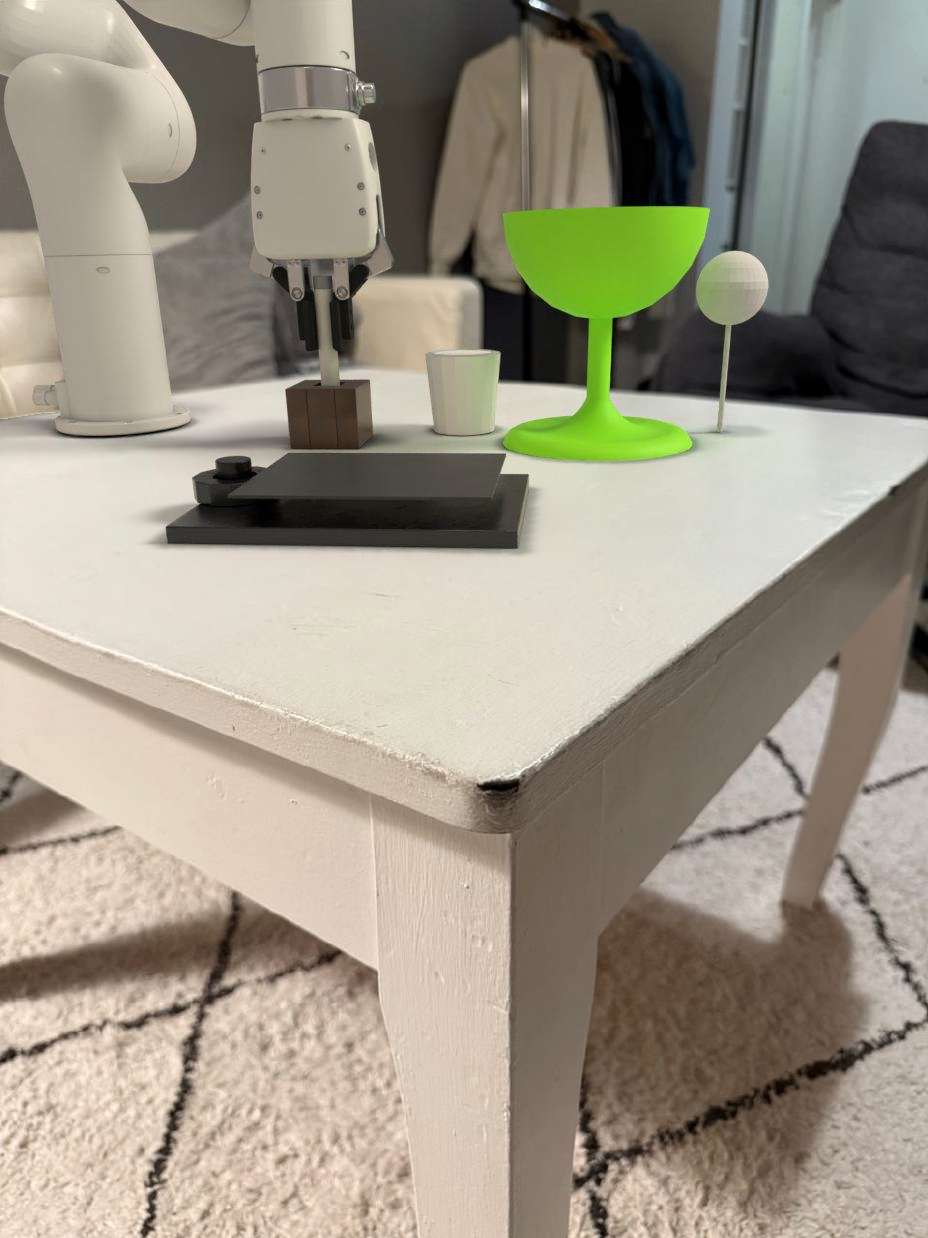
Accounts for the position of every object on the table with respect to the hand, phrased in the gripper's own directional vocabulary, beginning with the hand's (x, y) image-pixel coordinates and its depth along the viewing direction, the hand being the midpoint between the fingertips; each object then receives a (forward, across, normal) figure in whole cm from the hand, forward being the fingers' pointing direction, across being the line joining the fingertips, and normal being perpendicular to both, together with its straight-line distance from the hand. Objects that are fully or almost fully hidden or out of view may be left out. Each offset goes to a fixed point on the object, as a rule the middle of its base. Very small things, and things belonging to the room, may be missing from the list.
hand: (327, 347), depth 78 cm
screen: (+6, -9, +24) cm, 26 cm away
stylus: (+6, 0, 0) cm, 6 cm away
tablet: (+8, -8, +24) cm, 26 cm away
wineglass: (+8, -23, 0) cm, 24 cm away
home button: (+6, 0, +24) cm, 25 cm away
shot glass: (+8, -11, -6) cm, 15 cm away
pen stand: (+8, 0, 0) cm, 8 cm away
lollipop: (+8, -34, -5) cm, 35 cm away
